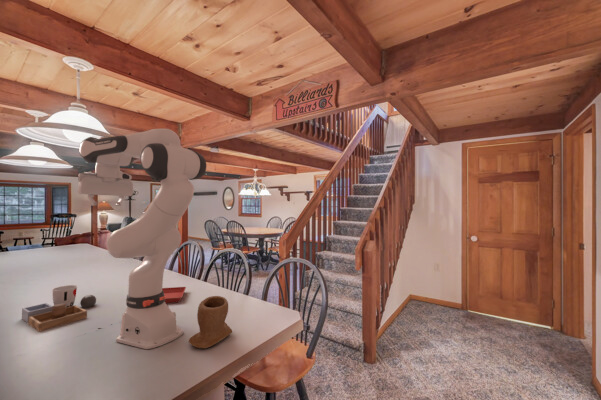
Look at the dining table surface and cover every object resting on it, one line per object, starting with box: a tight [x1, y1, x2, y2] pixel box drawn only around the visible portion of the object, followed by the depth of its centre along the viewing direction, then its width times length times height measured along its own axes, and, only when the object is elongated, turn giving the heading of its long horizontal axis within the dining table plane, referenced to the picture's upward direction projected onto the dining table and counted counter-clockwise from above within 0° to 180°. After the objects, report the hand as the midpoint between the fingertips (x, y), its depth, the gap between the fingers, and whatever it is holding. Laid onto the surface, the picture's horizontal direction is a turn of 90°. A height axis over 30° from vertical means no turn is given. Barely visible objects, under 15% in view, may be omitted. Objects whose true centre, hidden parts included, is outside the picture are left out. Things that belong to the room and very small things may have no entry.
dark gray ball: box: [79, 294, 97, 309], centre depth 120 cm, size 6×6×6 cm
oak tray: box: [27, 304, 88, 332], centre depth 105 cm, size 11×14×4 cm
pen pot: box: [21, 302, 53, 324], centre depth 107 cm, size 7×7×5 cm
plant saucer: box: [162, 286, 187, 304], centre depth 134 cm, size 18×18×3 cm
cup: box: [51, 284, 78, 307], centre depth 117 cm, size 8×8×10 cm
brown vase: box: [188, 295, 233, 349], centre depth 93 cm, size 15×12×15 cm
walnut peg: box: [51, 304, 66, 320], centre depth 105 cm, size 4×4×6 cm
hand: (106, 205), depth 116 cm, fingers open, 8 cm apart
